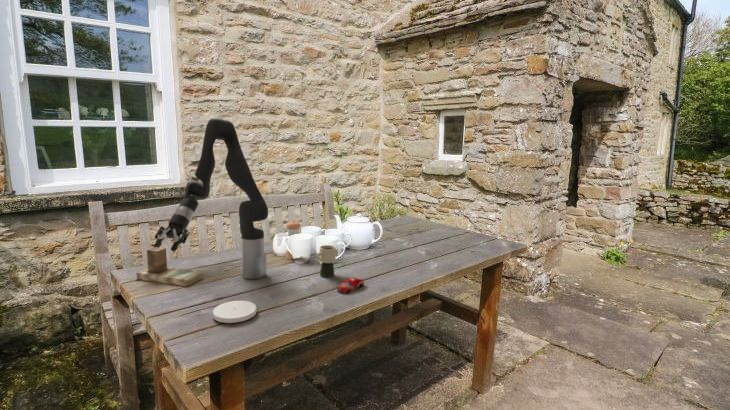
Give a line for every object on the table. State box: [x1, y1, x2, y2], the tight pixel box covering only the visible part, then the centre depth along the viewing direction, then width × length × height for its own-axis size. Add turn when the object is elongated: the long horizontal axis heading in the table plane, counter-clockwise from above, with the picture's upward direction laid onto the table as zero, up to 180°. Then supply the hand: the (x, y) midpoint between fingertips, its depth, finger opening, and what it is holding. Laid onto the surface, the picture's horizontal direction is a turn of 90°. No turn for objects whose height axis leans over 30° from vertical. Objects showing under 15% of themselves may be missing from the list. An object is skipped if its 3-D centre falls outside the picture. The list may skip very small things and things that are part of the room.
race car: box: [337, 277, 364, 294], centre depth 160 cm, size 13×5×4 cm, turn 141°
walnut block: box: [146, 247, 168, 274], centre depth 164 cm, size 5×5×12 cm
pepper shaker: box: [285, 219, 301, 260], centre depth 197 cm, size 7×7×19 cm
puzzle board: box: [135, 266, 204, 287], centre depth 164 cm, size 24×10×3 cm, turn 75°
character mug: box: [316, 244, 339, 277], centre depth 173 cm, size 11×7×13 cm, turn 131°
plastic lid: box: [212, 300, 257, 324], centre depth 133 cm, size 14×14×2 cm
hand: (164, 249), depth 168 cm, fingers open, 8 cm apart
